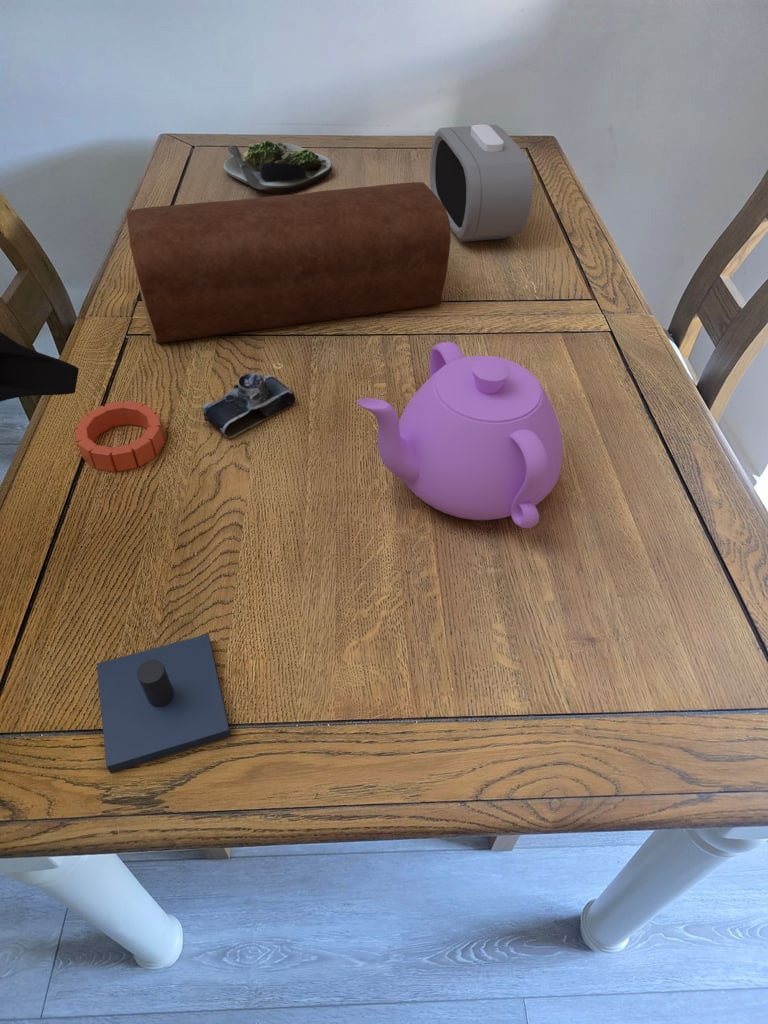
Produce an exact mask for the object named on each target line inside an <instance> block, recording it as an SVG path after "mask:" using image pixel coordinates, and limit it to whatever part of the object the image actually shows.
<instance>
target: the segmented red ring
mask: <svg viewBox="0 0 768 1024" xmlns="http://www.w3.org/2000/svg"><path fill="white" fill-rule="evenodd" d="M126 425H130V426H131V425H132V426H138V427H142V428H144V429H145V432H144V433H143V435H142V436H141V437H139V438H137V439H135V440H133V441H132V442H130V443H128V444H124V445H119V446H113V447H111V446H105V445H99V444H97V443H96V441H97V440H98V438H99V436H100V435H101V434H103V433H105V432H106V431H108V430H110V429H112V428H115V427H120V426H121V427H122V426H126ZM162 427H163V426H162V423H161V420H160V415H159V413H158V412H157V411H156V410H154V409H153V408H151V407H150V406H149V405H147V404H144V403H143V402H139V401H138V402H137V401H131V400H125V401H124V400H120V401H114V402H108V403H104V405H99V406H98V407H96V408H94V409H93V410H90V411H89V412H87V413H86V414H83V416H82V418H81V419H80V421H78V423H77V424H76V426H75V429H74V434H75V435H74V436H75V442H76V445H77V447H78V451H79V452H80V455H81V457H82V459H83V460H84V461H85V462H86V463H87V464H89V466H91V467H93V469H96V470H100V471H105V472H113V473H115V472H123V471H128V470H134V469H137V468H138V467H142V466H144V465H145V464H147V463H149V462H150V461H152V460H154V459H155V458H156V457H158V455H159V453H160V452H161V450H162V449H163V446H164V445H165V437H164V436H165V435H164V432H163V428H162Z"/></svg>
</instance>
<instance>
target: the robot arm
mask: <svg viewBox="0 0 768 1024" xmlns="http://www.w3.org/2000/svg"><path fill="white" fill-rule="evenodd" d="M79 371H80V369H79V367H78V366H76V365H74V364H71V363H70V362H67V361H65V360H61V359H59V358H56V357H54V356H50V355H49V354H48V355H47V354H44V353H41V352H38V351H36V350H35V349H32V348H30V347H27V346H24V345H22V344H20V343H18V342H17V341H15V340H13V339H12V338H10V337H9V336H7V335H6V334H4V332H2V331H0V403H1V402H4V401H7V400H11V399H17V398H22V397H24V398H25V397H34V396H35V397H37V396H62V395H63V396H64V395H72V394H75V393H76V390H77V389H76V388H77V383H78V377H79Z"/></svg>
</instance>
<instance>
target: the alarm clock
mask: <svg viewBox="0 0 768 1024" xmlns="http://www.w3.org/2000/svg"><path fill="white" fill-rule="evenodd" d="M429 162H430V163H429V181H430V190H431V191H432V192H433V193H434V194H435V195H436V196H437V198H438V199H439V200H440V201H441V203H442V204H443V205H444V207H445V208H446V211H447V215H448V218H449V222H450V230H451V231H452V232H453V233H454V234H455V236H456V237H457V239H458V240H459V242H460V243H464V242H465V243H467V242H475V241H478V242H479V241H488V240H490V241H491V240H500V239H507V237H509V236H518V235H521V234H522V233H523V232H524V230H525V229H526V226H527V224H528V221H529V217H530V213H531V207H532V201H533V189H534V182H533V181H534V180H533V172H532V171H533V170H532V166H531V162H530V160H529V158H528V156H527V155H526V154H525V151H524V150H522V148H521V147H520V146H519V145H518V144H517V143H516V142H515V141H514V140H513V139H512V138H511V137H510V135H509V134H508V133H507V132H506V131H505V130H504V129H503V128H502V127H500V126H499V125H497V124H473V125H466V126H465V125H464V126H449V127H447V126H446V127H440V128H438V129H437V131H436V132H435V133H434V136H433V139H432V144H431V151H430V161H429Z"/></svg>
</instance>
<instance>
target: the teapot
mask: <svg viewBox="0 0 768 1024" xmlns="http://www.w3.org/2000/svg"><path fill="white" fill-rule="evenodd" d="M356 402H357V405H358V406H359V407H361V408H363V409H364V410H367V411H368V412H370V413H371V414H373V416H374V417H375V418H376V420H377V448H378V452H379V456H380V458H381V461H382V462H383V464H384V466H385V467H386V469H387V470H388V471H389V472H391V474H393V475H394V476H395V477H397V478H399V479H401V480H402V482H403V483H404V484H405V486H406V487H407V489H409V490H410V491H411V492H412V493H413V494H414V495H415V496H416V497H418V498H419V499H420V500H421V501H423V502H424V503H426V504H427V505H428V506H430V507H432V508H433V509H436V510H437V511H439V512H441V513H444V514H446V515H448V516H452V517H455V518H458V519H464V520H471V521H491V520H499V519H504V518H508V517H511V520H512V522H513V523H514V524H515V525H516V526H518V527H520V528H523V529H531V528H533V527H535V526H537V524H538V523H539V521H540V513H539V510H538V508H537V505H538V504H539V503H541V502H542V501H543V500H544V499H545V498H546V497H547V496H548V495H549V494H550V493H551V492H552V491H553V490H554V487H555V486H556V484H557V482H558V479H559V477H560V473H561V469H562V464H563V436H562V431H561V427H560V423H559V420H558V417H557V415H556V411H555V409H554V407H553V405H552V403H551V401H550V398H549V397H548V394H547V392H546V391H545V389H544V388H543V386H542V385H541V383H540V381H539V380H538V379H537V378H536V377H535V375H534V374H533V373H532V372H530V371H529V370H528V369H527V368H525V367H524V366H522V365H520V364H519V363H516V362H515V361H512V360H510V359H506V358H502V357H498V356H494V355H493V356H492V355H470V356H465V355H464V353H463V351H462V349H461V348H460V346H459V345H458V344H456V343H455V342H451V341H443V342H439V343H437V344H435V345H434V346H433V347H432V348H431V350H430V354H429V378H428V379H427V380H426V381H425V382H424V383H423V384H422V386H420V387H419V388H418V389H417V391H416V392H415V393H414V394H413V396H411V398H410V400H409V401H408V403H407V405H405V408H404V409H403V411H402V414H401V416H400V418H399V415H398V413H397V411H396V409H395V407H393V405H392V404H391V403H389V402H388V401H385V400H383V399H379V398H370V397H369V398H368V397H365V398H359V399H358V400H357V401H356Z"/></svg>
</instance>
